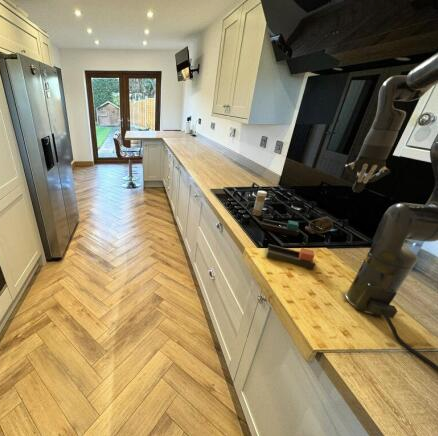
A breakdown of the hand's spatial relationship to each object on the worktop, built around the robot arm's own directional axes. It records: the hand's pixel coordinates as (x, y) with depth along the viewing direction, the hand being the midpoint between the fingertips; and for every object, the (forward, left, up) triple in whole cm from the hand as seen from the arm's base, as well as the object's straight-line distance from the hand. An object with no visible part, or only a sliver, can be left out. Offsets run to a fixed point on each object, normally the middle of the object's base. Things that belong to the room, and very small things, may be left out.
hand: (356, 191), depth 87 cm
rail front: (-15, +16, -27) cm, 35 cm away
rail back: (+11, +20, -27) cm, 35 cm away
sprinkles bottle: (+25, +31, -27) cm, 48 cm away
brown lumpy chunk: (+20, +3, -27) cm, 34 cm away
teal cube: (+11, +14, -25) cm, 31 cm away
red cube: (-15, +10, -25) cm, 31 cm away
